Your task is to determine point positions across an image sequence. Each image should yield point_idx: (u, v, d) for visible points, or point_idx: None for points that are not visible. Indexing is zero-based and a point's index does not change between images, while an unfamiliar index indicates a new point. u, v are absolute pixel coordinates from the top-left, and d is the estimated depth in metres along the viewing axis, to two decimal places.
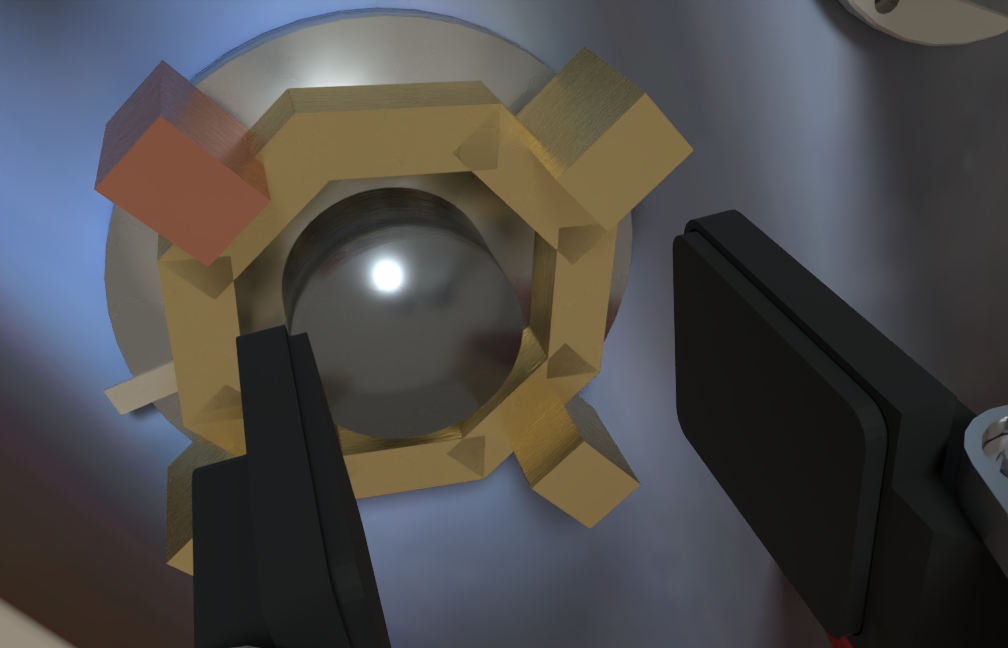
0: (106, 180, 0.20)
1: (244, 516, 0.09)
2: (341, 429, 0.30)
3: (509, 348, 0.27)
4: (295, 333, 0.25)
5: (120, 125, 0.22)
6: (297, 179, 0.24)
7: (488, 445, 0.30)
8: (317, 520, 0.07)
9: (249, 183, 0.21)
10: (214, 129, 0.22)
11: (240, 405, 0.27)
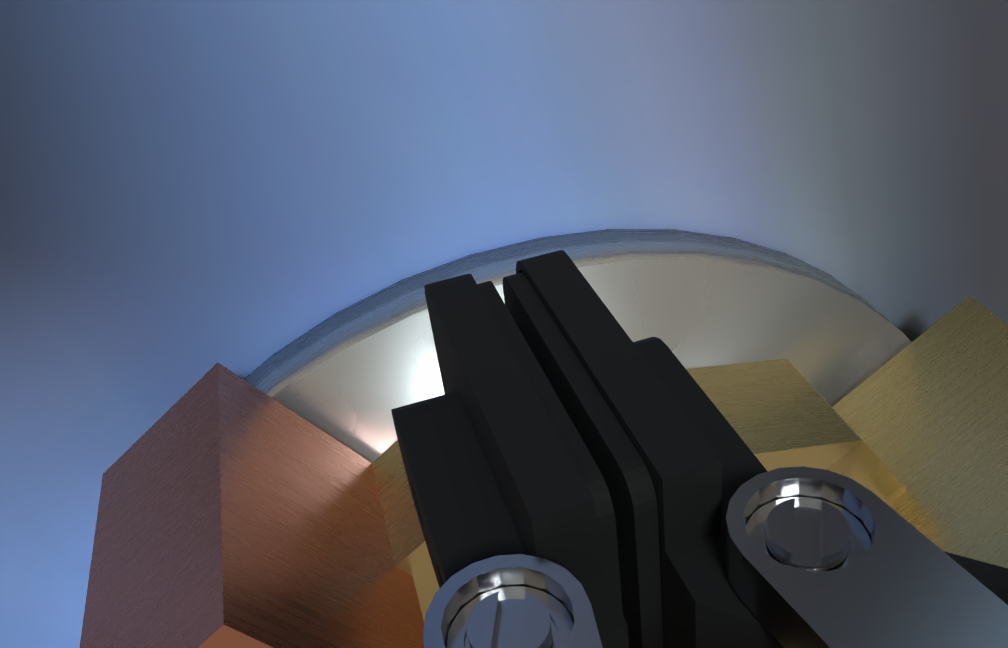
0: None
1: (456, 450, 0.09)
2: None
3: None
4: None
5: (130, 525, 0.11)
6: None
7: None
8: (559, 443, 0.08)
9: None
10: (325, 539, 0.11)
11: None
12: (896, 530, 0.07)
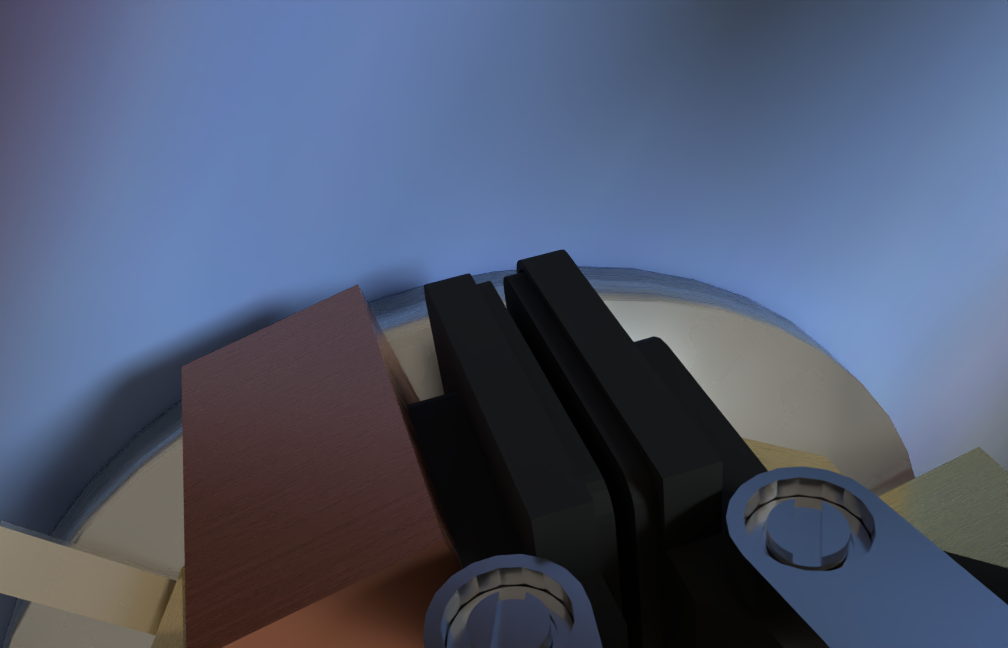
0: None
1: (456, 450, 0.09)
2: None
3: None
4: None
5: (245, 423, 0.09)
6: None
7: None
8: (559, 443, 0.08)
9: None
10: None
11: None
12: (896, 530, 0.07)
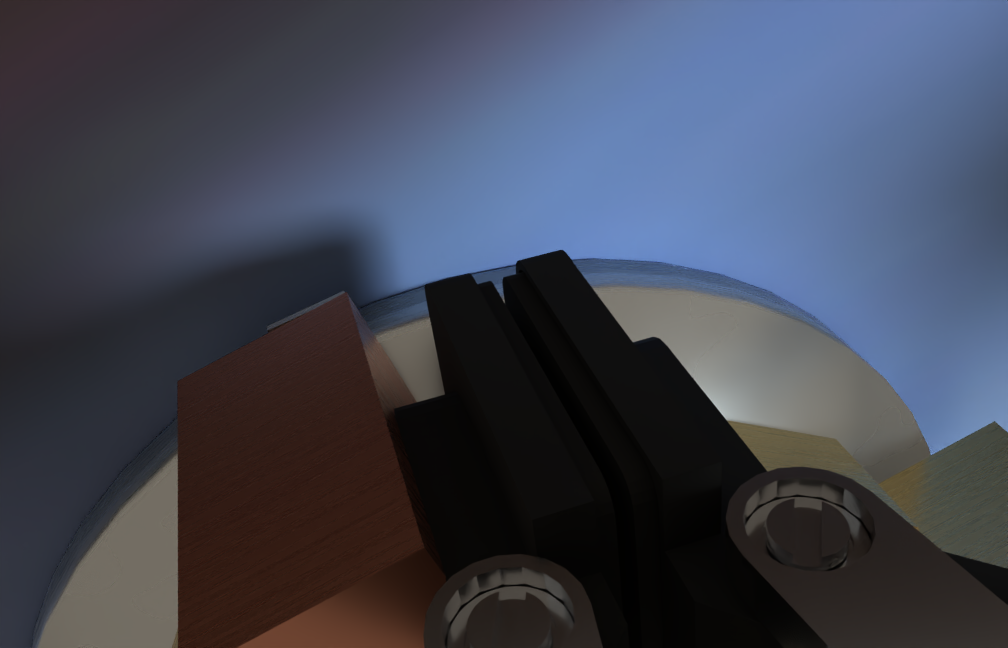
0: None
1: (458, 450, 0.09)
2: None
3: None
4: None
5: (237, 436, 0.10)
6: None
7: None
8: (560, 443, 0.08)
9: None
10: None
11: None
12: (896, 530, 0.07)
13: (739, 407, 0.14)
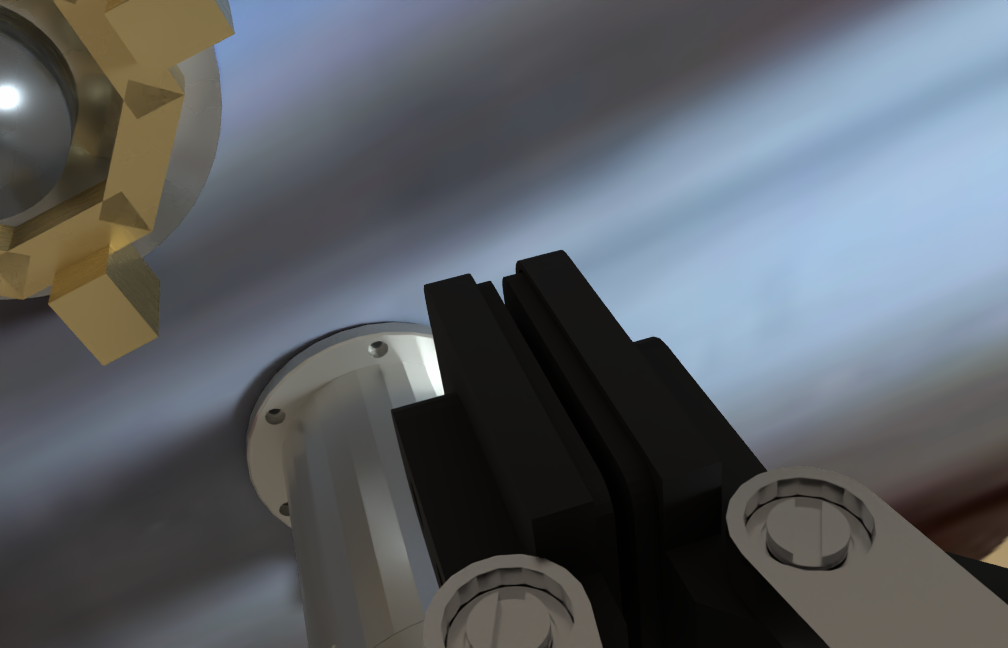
0: None
1: (456, 450, 0.09)
2: None
3: None
4: None
5: None
6: None
7: (32, 267, 0.33)
8: (559, 442, 0.08)
9: None
10: None
11: None
12: (896, 530, 0.07)
13: None
